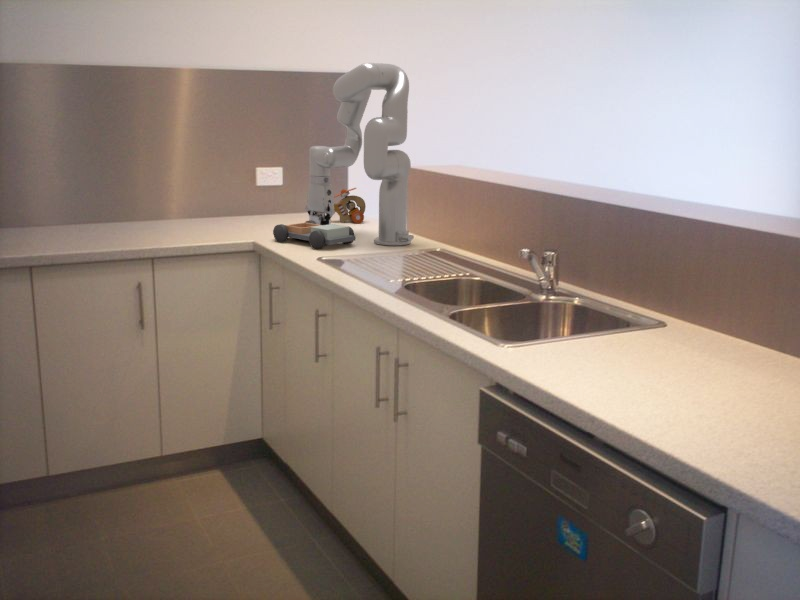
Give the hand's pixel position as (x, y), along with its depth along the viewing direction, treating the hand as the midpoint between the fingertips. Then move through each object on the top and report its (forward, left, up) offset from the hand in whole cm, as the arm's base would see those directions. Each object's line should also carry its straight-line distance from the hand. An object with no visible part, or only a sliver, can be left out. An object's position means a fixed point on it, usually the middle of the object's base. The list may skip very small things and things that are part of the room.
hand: (319, 229), depth 323 cm
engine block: (0, 0, -1) cm, 1 cm away
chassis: (-16, +18, -1) cm, 24 cm away
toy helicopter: (+11, -22, -1) cm, 25 cm away
